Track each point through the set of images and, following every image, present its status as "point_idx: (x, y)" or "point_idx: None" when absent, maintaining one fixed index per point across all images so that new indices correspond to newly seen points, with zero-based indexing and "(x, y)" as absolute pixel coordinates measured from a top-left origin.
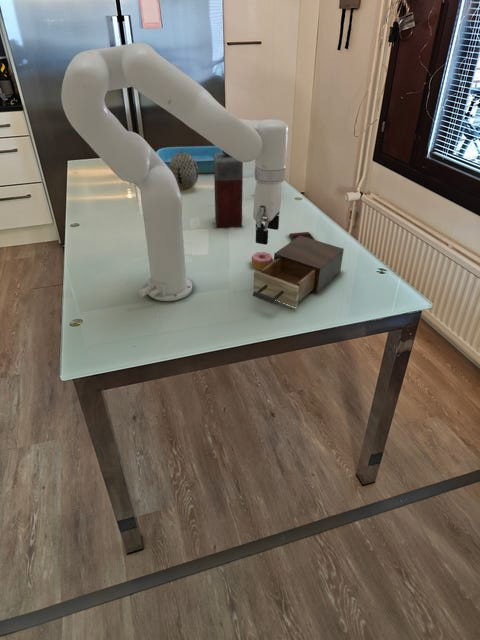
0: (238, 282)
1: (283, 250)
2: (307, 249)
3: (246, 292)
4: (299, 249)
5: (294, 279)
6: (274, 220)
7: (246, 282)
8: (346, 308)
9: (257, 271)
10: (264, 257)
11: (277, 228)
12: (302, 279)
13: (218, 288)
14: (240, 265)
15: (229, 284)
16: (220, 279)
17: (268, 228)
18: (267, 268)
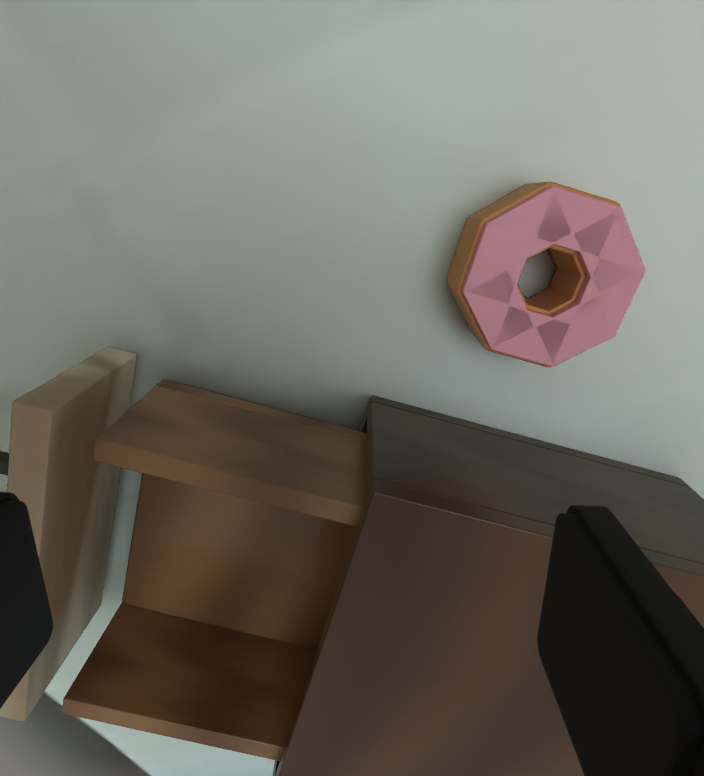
0: (220, 185)
1: (462, 548)
2: (540, 704)
3: (125, 288)
4: (523, 654)
5: (330, 554)
6: (603, 753)
7: (245, 243)
8: (229, 760)
9: (44, 424)
10: (572, 289)
11: (549, 663)
12: (123, 717)
13: (69, 62)
14: (478, 97)
15: (163, 127)
16: (197, 17)
17: (556, 524)
18: (157, 474)
